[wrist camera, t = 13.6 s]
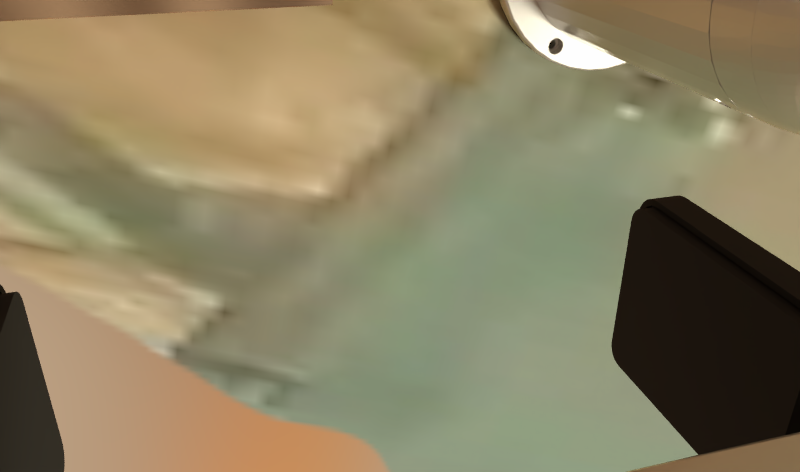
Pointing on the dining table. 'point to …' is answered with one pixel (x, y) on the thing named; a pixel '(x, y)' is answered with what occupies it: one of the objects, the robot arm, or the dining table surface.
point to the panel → (131, 7)
